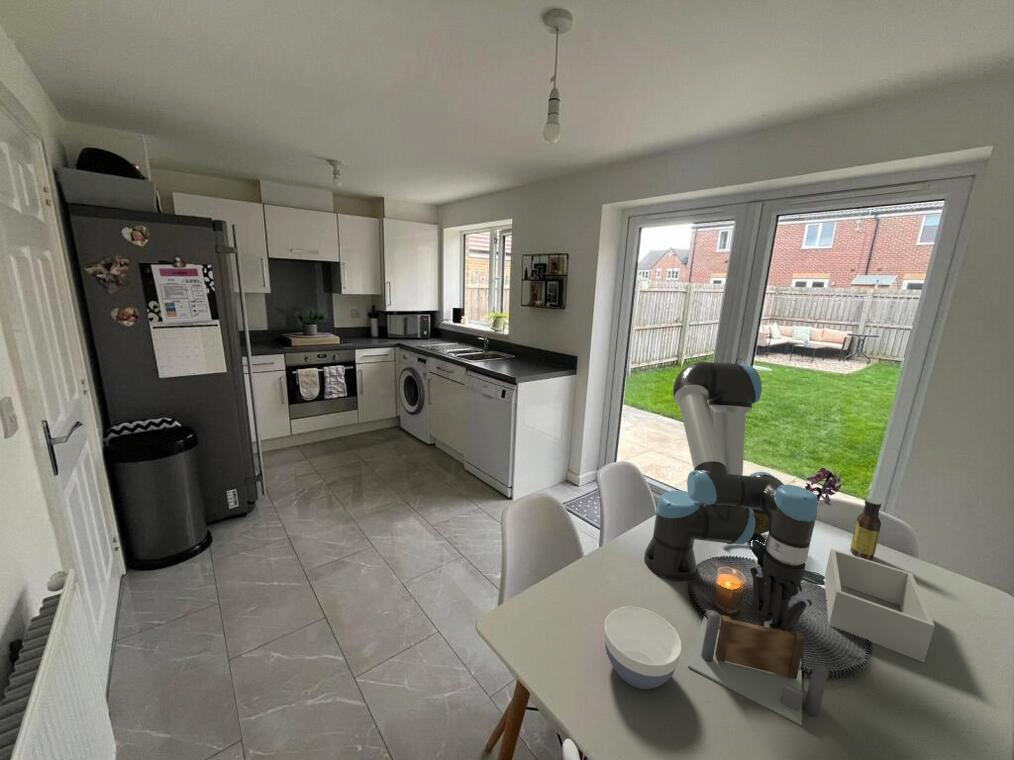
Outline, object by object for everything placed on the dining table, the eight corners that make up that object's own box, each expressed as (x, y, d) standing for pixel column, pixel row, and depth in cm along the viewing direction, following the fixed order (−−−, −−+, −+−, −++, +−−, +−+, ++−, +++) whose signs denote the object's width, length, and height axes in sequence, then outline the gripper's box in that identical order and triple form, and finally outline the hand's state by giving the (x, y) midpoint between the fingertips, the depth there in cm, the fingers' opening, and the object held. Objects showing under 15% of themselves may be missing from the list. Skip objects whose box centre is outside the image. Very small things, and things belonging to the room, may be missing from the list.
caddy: (828, 625, 107) (836, 591, 105) (824, 577, 126) (830, 548, 124) (924, 662, 97) (934, 626, 95) (903, 604, 116) (911, 573, 114)
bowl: (667, 720, 80) (674, 680, 78) (590, 678, 88) (594, 640, 86) (681, 662, 93) (687, 626, 91) (613, 630, 101) (617, 596, 100)
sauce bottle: (858, 548, 143) (871, 496, 139) (878, 559, 137) (892, 505, 133) (844, 550, 142) (857, 497, 138) (863, 561, 136) (877, 506, 132)
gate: (716, 659, 93) (723, 620, 91) (715, 654, 95) (722, 615, 93) (796, 679, 89) (805, 638, 87) (793, 672, 91) (802, 632, 89)
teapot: (784, 543, 144) (797, 482, 139) (728, 553, 136) (739, 488, 132) (755, 525, 155) (765, 468, 150) (701, 533, 147) (711, 473, 143)
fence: (688, 667, 92) (695, 621, 90) (706, 610, 110) (712, 570, 108) (819, 734, 79) (832, 683, 77) (815, 657, 97) (825, 613, 94)
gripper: (746, 541, 95) (731, 629, 99) (803, 578, 83) (782, 675, 87) (770, 536, 97) (753, 622, 102) (828, 571, 85) (806, 666, 90)
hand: (767, 646), depth 95 cm, fingers closed
